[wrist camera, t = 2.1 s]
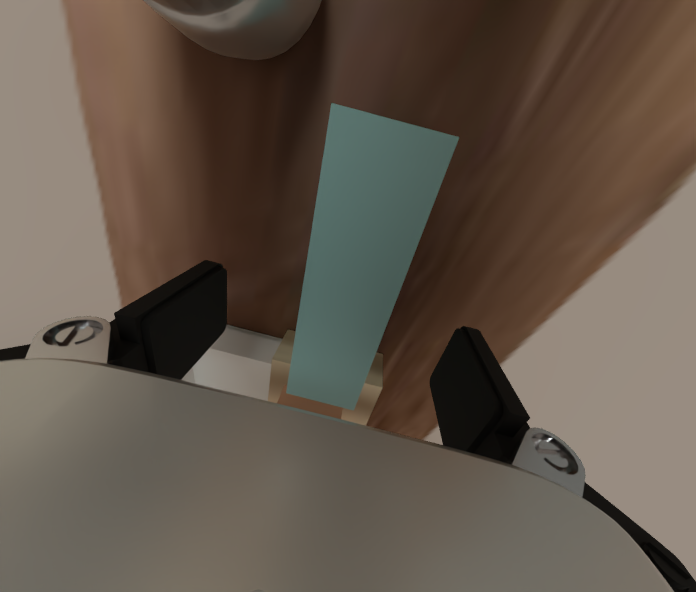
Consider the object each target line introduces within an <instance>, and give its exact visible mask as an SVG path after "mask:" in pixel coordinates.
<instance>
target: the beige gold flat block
mask: <svg viewBox="0 0 696 592" xmlns="http://www.w3.org/2000/svg"><path fill="white" fill-rule="evenodd" d="M295 333H296V331H292V330H287V332H286V334H285V335H284V337H283V339H282V341H281V343H280V345H279V347H278V349H277V351H276V352H275V354H274V356H273V358H272V363H271V374H270V384H269V394H268V401H269V402H273V403H277V402H278V399H279V397H280V395H281V392H282V390H283V387H284V385H287V384H288V377H289V371H290V364H291V358H292V352H293V345H294V339H295ZM382 388H383V354H381V353H377V352H376V354H375V357H374V360H373V362H372V365H371V367H370V370H369V372H368V375H367V378H366V380H365V383H364V385H363V388H362V391H361V393H360V396H359V398H358V401H357V404H356V406H355V409H354V411H353V410H349V409H346V408H343V410H342V416H341V419H342V420H346V421H350V422H354V423H358V424H362V425H365V426H366V424H367V422H368V420H369V417H370V415H371V413H372V411H373V408H374V406H375V404H376V401H377V399H378V397H379V395H380V392H381V390H382Z"/></svg>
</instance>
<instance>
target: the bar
mask: <svg viewBox="0 0 696 592" xmlns="http://www.w3.org/2000/svg"><path fill="white" fill-rule="evenodd" d="M458 139H459V137H457V136H453V135H449V134H446V133H442V132H438V131H434V130H431V129H427V128H423V127H420V126H416V125H412V124H408V123H405V122H401V121H397V120H393V119H390V118H386V117H382V116H379V115H375V114H371V113H367V112H364V111H360V110H356V109H353V108H349V107H345V106H341V105H338V104H334V103H331V109H330V116H329V122H328V128H327V135H326V141H325V148H324V154H323V160H322V167H321V173H320V180H319V186H318V192H317V199H316V205H315V211H314V218H313V224H312V231H311V237H310V243H309V250H308V256H307V262H306V269H305V275H304V282H303V288H302V294H301V301H300V307H299V313H298V320H297V326H296V333H295V339H294V345H293V352H292V358H291V364H290V371H289V377H288V384H287V390H286V393H287V394H291V395H295V396H299V397H303V398H307V399H311V400H315V401H318V402H322V403H326V404H330V405H334V406H338V407H342V408H346V409H349V410H353V411H354V409H355V406H356V404H357V401H358V398H359V396H360V393H361V391H362V388H363V385H364V383H365V380H366V378H367V375H368V372H369V370H370V367H371V365H372V362H373V360H374V357H375V354H376V352H377V349H378V347H379V344H380V341H381V339H382V336H383V334H384V331H385V328H386V326H387V323H388V321H389V318H390V316H391V313H392V310H393V308H394V305H395V303H396V300H397V297H398V295H399V292H400V290H401V287H402V284H403V282H404V279H405V277H406V274H407V272H408V269H409V266H410V264H411V261H412V259H413V256H414V253H415V251H416V248H417V246H418V243H419V240H420V238H421V235H422V233H423V230H424V228H425V225H426V222H427V220H428V217H429V215H430V212H431V209H432V207H433V204H434V202H435V199H436V196H437V194H438V191H439V189H440V186H441V183H442V181H443V178H444V176H445V173H446V171H447V168H448V165H449V163H450V160H451V158H452V155H453V152H454V150H455V147H456V145H457V142H458Z"/></svg>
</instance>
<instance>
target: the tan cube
mask: <svg viewBox="0 0 696 592" xmlns="http://www.w3.org/2000/svg"><path fill="white" fill-rule="evenodd" d="M286 390H287V385H284V387H283V390H282V392H281V395H280V397H279V399H278V402H277V404H281V405H285V406H289V407H294V408H298V409H302V410H306V411H310V412H314V413H318V414H322V415H326V416H330V417H334V418H338V419H341V416H342V410H343V408H342V407H338V406H334V405H330V404H326V403H322V402H318V401H315V400H311V399H307V398H303V397H299V396H295V395H291V394H287V393H286Z"/></svg>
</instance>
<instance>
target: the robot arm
mask: <svg viewBox="0 0 696 592" xmlns="http://www.w3.org/2000/svg"><path fill="white" fill-rule="evenodd" d="M114 315H115V319H114V320H113V321H111V322H108V321H106V320H105V319H102V318H99V317H91V316H84V317H75V318H68V319H64V320H61V321H57V322H55V323H52V324H50V325H48V326H46V327H44V328H43V329H41V330H40V331H39V332H38V333H37V334H36V335H35V337H34V338H33V341H32V343H31V344H29V345H24V346H18V347H13V348H7V349H1V350H0V592H696V581H695V580H694V579H693V577H692V576H691V575H690V573H689V572H688V571H687V569H686V568H685V566H684V565H683V564H682V563H681V562H680V560H679V559H678V558H677V557H676V556H675V555H674V554H673V553H671V552H670V551H669V550H668V549H666V548H665V547H664V546H663V545H662V544H661V543H659V542H658V541H657V540H656V539H655V538H653V537H652V536H651V535H650V534H648V533H647V532H646V531H645V530H643V529H642V528H641V527H640V526H639V525H637V524H636V523H635V522H634V521H632V520H631V519H630V518H629V517H627V516H626V515H625V514H624V513H622V512H621V511H620V510H619V509H617V508H616V507H615V506H613V505H612V504H611V503H610V502H609V501H608V500H606V499H605V498H604V497H603V496H601V495H600V494H599V493H598V492H596V491H595V490H594V489H593V488H591V487H590V486H589V485H588V484H586V483H585V469H584V466H583V464H582V462H581V460H580V459H579V457H578V456H577V455H576V453H575V452H574V451H573V450H572V449H571V448H570V447H569V446H568V445H567V444H566V443H565V442H564V441H562V440H561V439H560V438H558V437H557V436H555V435H554V434H552V433H550V432H548V431H546V430H543V429H540V428H530V427H529V425H528V424H527V421H528V420H529V419H530V417H529V415H528V414H527V412H526V410H525V408H524V407H523V405H522V403H521V402H520V400H519V398H518V396H517V395H516V393H515V391H514V389H513V388H512V386H511V384H510V382H509V381H508V379H507V378H506V376H505V374H504V372H503V370H502V369H501V367H500V365H499V363H498V362H497V360H496V358H495V357H494V355H493V353H492V351H491V350H490V348H489V346H488V344H487V343H486V341H485V339H484V338H483V336H482V334H481V332H480V331H479V330H477V329H473V328H469V327H466V326H463V327H461V328H460V329H459V328H458V329H456V330H455V332H454V334H453V336H452V337H451V339H450V341H449V343H448V345H447V347H446V349H445V351H444V352H443V354H442V356H441V358H440V360H439V362H438V364H437V366H436V368H435V369H434V371H433V373H432V375H431V378H430V388H431V392H432V397H433V401H434V406H435V410H436V415H437V419H438V424H439V428H440V433H441V437H442V442H443V445H439V444H436V443H432V442H428V441H424V440H420V439H416V438H412V437H408V436H405V435H401V434H397V433H393V432H389V431H385V430H381V429H377V428H373V427H369V426H365V425H362V424H358V423H354V422H350V421H346V420H342V419H338V418H334V417H330V416H326V415H322V414H318V413H314V412H310V411H306V410H302V409H298V408H294V407H289V406H285V405H281V404H277V403H273V402H269V401H265V400H261V399H257V398H253V397H249V396H245V395H241V394H237V393H232V392H228V391H224V390H220V389H216V388H212V387H208V386H204V385H200V384H196V383H191V382H187V381H183V380H181V379H182V378H183V377H184V376H185V375H186V374H187V373H188V371H189V370H190V369H191V368H192V367H193V366H194V365H195V364H196V363H197V361H198V360H199V359H200V358H201V357H202V356H203V355H204V354H205V353H206V351H207V350H208V349H209V348H210V347H211V346H212V345H213V344H214V343H215V341H216V340H217V339H218V338H219V337H220V336H221V335H222V334H223V332H224V331H225V329H226V324H227V271H226V269H224V268H223V266H222V264H219V263H215V262H212V261H208V260H205V261H203V262H201V263H199V264H198V265H196V266H194V267H192V268H191V269H189V270H187V271H186V272H184V273H182V274H180V275H179V276H177V277H175V278H174V279H172V280H170V281H168V282H167V283H165V284H163V285H162V286H160V287H158V288H156V289H155V290H153V291H151V292H150V293H148V294H146V295H144V296H143V297H141V298H139V299H138V300H136V301H134V302H132V303H131V304H129V305H127V306H126V307H124V308H122V309H120V310H119V311H117V312H115V313H114Z"/></svg>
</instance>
